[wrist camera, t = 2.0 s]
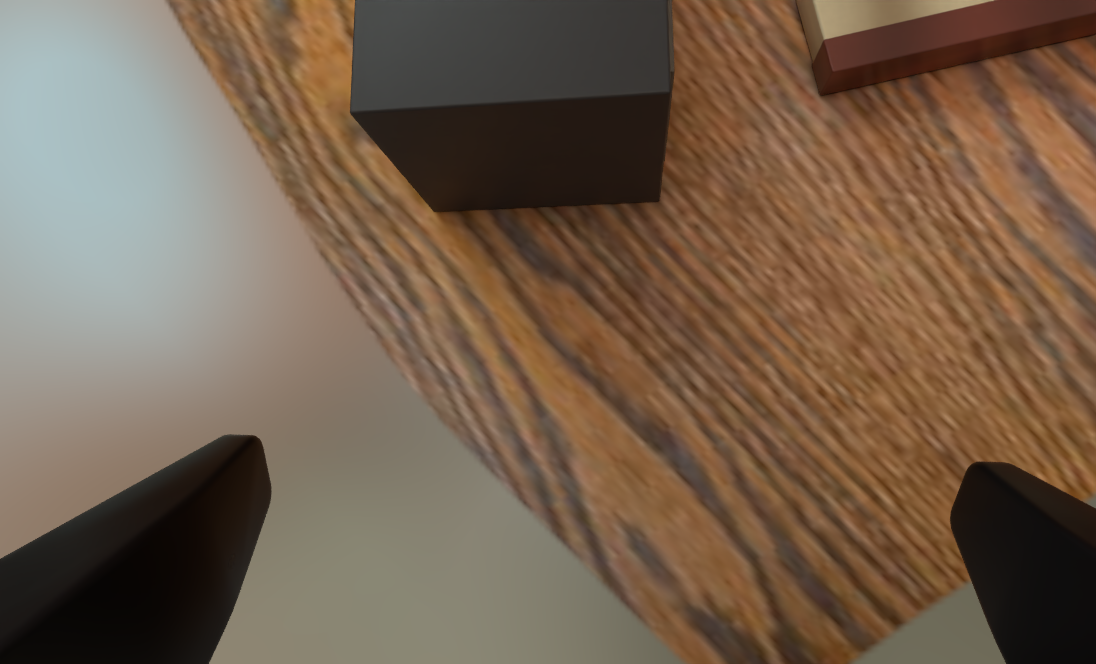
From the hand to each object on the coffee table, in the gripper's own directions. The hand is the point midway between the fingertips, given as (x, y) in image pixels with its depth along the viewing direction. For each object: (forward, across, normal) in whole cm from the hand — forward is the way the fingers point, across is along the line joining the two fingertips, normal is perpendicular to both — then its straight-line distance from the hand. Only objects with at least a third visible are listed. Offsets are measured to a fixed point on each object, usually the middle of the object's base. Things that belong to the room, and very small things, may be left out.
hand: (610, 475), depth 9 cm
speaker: (+20, +2, -3) cm, 20 cm away
